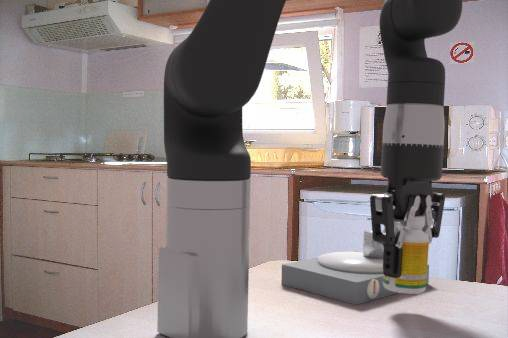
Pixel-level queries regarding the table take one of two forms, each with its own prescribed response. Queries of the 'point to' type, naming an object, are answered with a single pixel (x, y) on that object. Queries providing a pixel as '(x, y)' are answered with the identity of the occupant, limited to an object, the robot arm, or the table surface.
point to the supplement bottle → (412, 261)
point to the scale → (339, 276)
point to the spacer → (372, 246)
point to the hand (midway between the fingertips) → (405, 273)
